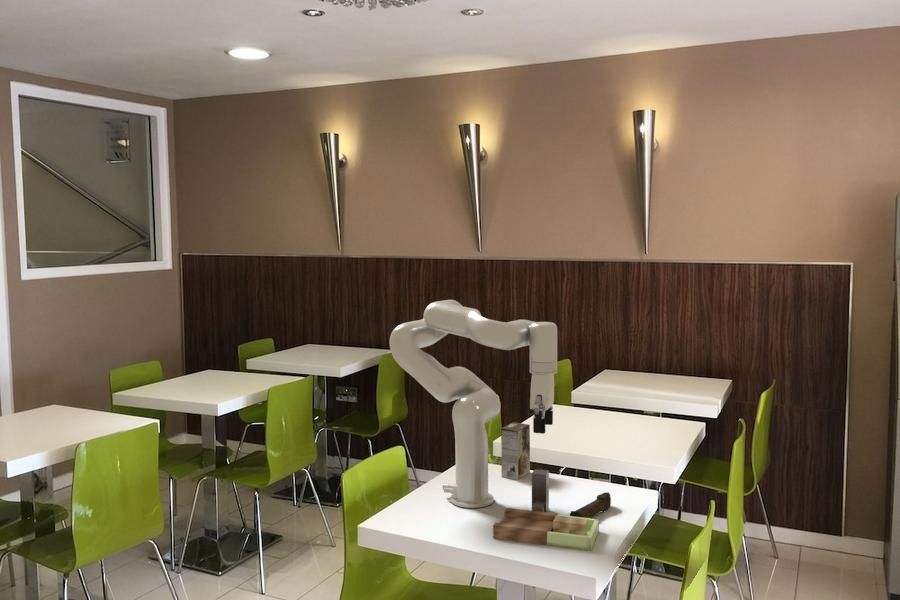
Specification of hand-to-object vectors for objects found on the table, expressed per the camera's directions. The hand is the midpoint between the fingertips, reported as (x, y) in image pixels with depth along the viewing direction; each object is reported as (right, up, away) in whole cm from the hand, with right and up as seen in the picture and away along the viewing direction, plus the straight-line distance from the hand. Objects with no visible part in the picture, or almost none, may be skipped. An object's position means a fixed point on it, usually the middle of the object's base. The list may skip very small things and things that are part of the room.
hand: (543, 428), depth 211 cm
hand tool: (+14, -25, +2) cm, 28 cm away
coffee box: (-4, -22, +37) cm, 43 cm away
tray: (+6, -26, -15) cm, 30 cm away
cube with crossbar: (-1, -24, +2) cm, 24 cm away
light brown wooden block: (+7, -25, -15) cm, 30 cm away
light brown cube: (+3, -25, -14) cm, 29 cm away
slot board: (-6, -25, -11) cm, 28 cm away
